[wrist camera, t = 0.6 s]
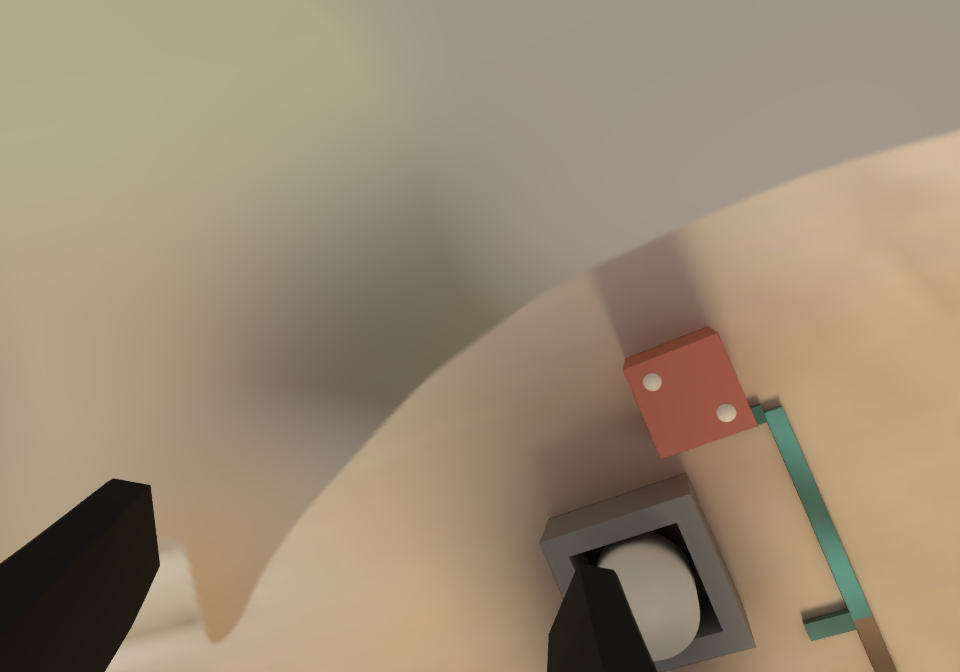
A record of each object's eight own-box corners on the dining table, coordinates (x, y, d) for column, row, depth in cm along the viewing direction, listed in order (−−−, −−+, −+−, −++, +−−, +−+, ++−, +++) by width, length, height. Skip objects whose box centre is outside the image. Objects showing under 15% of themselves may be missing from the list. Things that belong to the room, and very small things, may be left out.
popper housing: (745, 611, 30) (756, 647, 27) (604, 650, 32) (600, 687, 29) (685, 473, 30) (690, 493, 27) (549, 519, 32) (539, 542, 29)
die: (742, 406, 30) (758, 426, 26) (658, 436, 31) (661, 460, 27) (708, 326, 30) (718, 333, 26) (625, 358, 31) (622, 370, 27)
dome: (710, 609, 29) (718, 650, 26) (617, 635, 30) (614, 677, 27) (671, 518, 29) (674, 548, 26) (580, 547, 30) (573, 579, 27)
